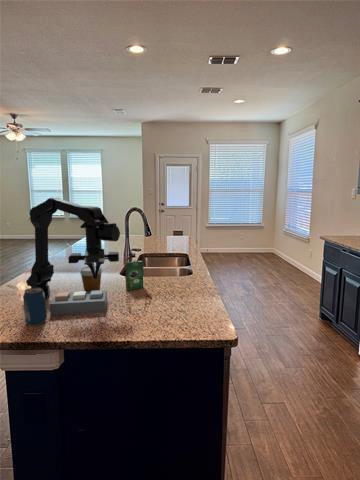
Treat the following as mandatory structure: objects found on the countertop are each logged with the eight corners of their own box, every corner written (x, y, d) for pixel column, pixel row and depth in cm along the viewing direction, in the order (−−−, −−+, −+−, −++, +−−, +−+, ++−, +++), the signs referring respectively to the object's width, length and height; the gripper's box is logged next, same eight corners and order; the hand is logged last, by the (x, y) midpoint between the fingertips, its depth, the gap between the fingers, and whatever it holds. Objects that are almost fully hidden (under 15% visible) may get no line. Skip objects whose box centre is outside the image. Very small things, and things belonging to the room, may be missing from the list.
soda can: (49, 317, 116) (47, 286, 114) (42, 326, 109) (39, 293, 107) (30, 318, 116) (28, 286, 114) (22, 326, 109) (18, 293, 107)
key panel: (50, 315, 118) (49, 304, 117) (57, 303, 130) (56, 293, 129) (105, 311, 121) (104, 300, 120) (107, 300, 133) (106, 290, 132)
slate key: (90, 304, 123) (90, 294, 123) (91, 300, 128) (91, 290, 127) (102, 303, 124) (101, 293, 123) (103, 299, 128) (102, 290, 128)
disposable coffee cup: (80, 299, 135) (79, 272, 132) (81, 291, 144) (80, 266, 141) (103, 297, 137) (102, 270, 135) (103, 290, 146) (101, 265, 144)
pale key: (73, 305, 122) (72, 295, 122) (75, 301, 127) (74, 291, 126) (85, 304, 123) (84, 294, 122) (86, 300, 127) (86, 291, 127)
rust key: (56, 306, 121) (55, 296, 121) (58, 302, 126) (57, 292, 125) (67, 305, 122) (67, 295, 121) (69, 301, 126) (69, 292, 126)
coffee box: (141, 286, 151) (141, 259, 149) (144, 287, 149) (143, 261, 147) (125, 289, 147) (124, 261, 145) (128, 290, 145) (127, 263, 143)
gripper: (64, 244, 112) (67, 286, 115) (117, 242, 115) (118, 283, 118) (69, 239, 123) (72, 277, 126) (118, 237, 126) (119, 275, 129)
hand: (95, 278), depth 124 cm, fingers closed
